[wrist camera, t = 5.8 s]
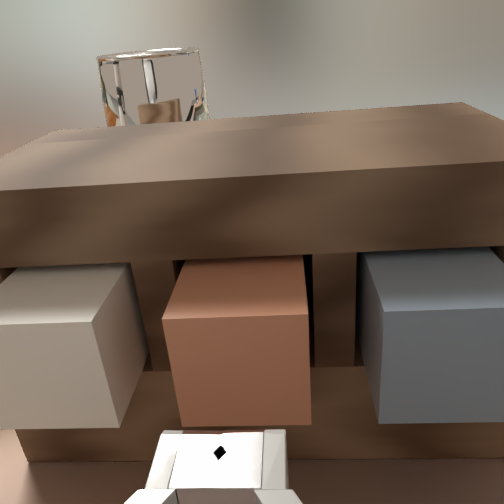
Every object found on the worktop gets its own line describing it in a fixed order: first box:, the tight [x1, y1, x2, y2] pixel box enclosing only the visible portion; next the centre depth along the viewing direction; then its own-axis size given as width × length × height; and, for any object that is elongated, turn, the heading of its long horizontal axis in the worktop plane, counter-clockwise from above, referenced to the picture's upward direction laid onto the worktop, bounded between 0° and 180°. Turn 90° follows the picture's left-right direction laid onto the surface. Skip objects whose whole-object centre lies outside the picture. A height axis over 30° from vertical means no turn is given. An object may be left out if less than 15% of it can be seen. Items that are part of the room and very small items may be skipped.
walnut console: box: [0, 102, 504, 462], centre depth 21 cm, size 20×10×12 cm, turn 87°
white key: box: [0, 262, 149, 429], centre depth 17 cm, size 4×6×4 cm, turn 177°
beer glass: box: [96, 47, 210, 127], centre depth 34 cm, size 7×7×15 cm
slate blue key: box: [355, 246, 504, 424], centre depth 16 cm, size 4×6×4 cm, turn 177°
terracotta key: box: [162, 255, 312, 427], centre depth 16 cm, size 4×6×4 cm, turn 177°
